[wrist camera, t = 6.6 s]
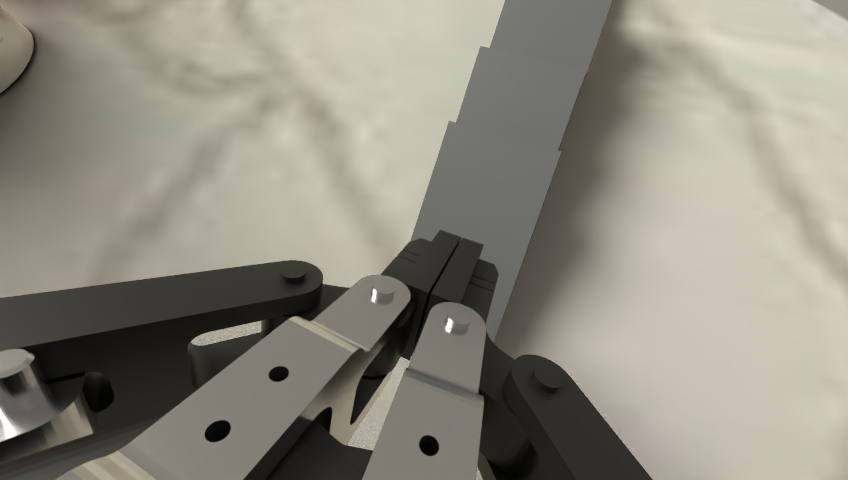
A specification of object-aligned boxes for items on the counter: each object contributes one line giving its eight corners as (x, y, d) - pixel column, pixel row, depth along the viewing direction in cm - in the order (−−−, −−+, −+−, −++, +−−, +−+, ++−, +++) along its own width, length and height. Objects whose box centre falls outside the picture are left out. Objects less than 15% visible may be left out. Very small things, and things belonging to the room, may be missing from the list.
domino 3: (382, 328, 16) (449, 120, 15) (392, 319, 18) (453, 131, 17) (484, 369, 15) (561, 151, 14) (485, 356, 17) (555, 159, 16)
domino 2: (417, 243, 18) (480, 46, 17) (424, 241, 19) (481, 61, 18) (513, 276, 17) (586, 70, 16) (512, 272, 18) (578, 84, 17)
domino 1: (450, 167, 19) (513, -24, 17) (454, 171, 20) (512, -5, 19) (540, 195, 18) (614, -5, 17) (537, 196, 20) (604, 14, 18)
